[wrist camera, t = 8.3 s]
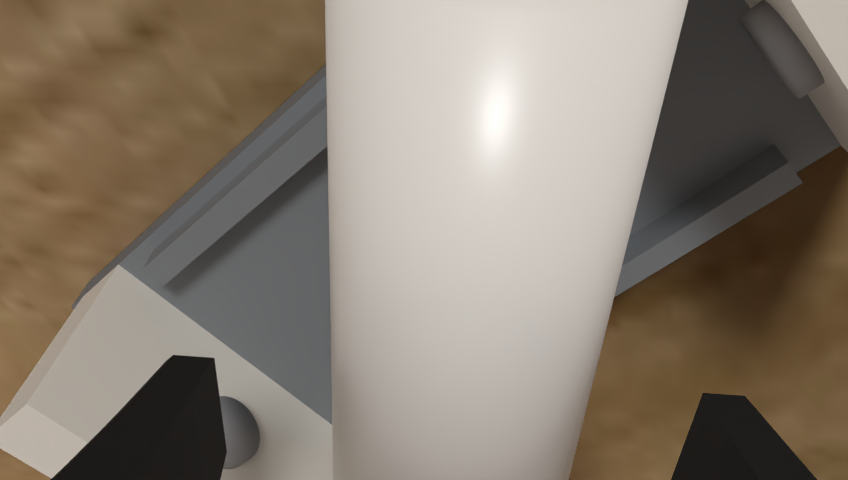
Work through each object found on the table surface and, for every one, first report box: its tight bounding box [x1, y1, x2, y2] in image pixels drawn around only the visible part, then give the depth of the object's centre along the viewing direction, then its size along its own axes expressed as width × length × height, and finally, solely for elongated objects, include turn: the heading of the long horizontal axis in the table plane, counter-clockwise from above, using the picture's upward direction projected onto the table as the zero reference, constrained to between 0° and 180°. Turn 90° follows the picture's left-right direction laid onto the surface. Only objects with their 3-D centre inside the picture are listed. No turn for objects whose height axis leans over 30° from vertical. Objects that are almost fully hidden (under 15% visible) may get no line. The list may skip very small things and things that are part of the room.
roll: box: [325, 0, 688, 480], centre depth 14 cm, size 5×12×5 cm, turn 177°
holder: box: [0, 0, 848, 480], centre depth 15 cm, size 8×18×6 cm, turn 132°
